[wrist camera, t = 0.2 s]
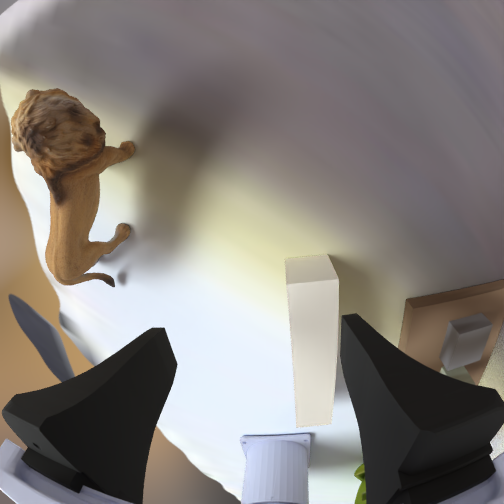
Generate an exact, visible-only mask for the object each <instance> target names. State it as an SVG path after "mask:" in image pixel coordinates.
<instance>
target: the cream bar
mask: <svg viewBox="0 0 504 504" xmlns="http://www.w3.org/2000/svg"><path fill="white" fill-rule="evenodd" d="M285 270H286V285H287V296H288V308H289V320H290V332H291V346H292V360H293V375H294V391H295V408H296V428H298V427H309V426H319V425H328V424H331V423H332V413H333V404H334V393H335V380H336V366H337V348H338V320H339V278H338V276H337V274H336V272H335V269H334V267H333V265H332V263H331V261H330V259H329V256H328V254H325V255H315V256H305V257H295V258H285Z"/></svg>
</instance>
